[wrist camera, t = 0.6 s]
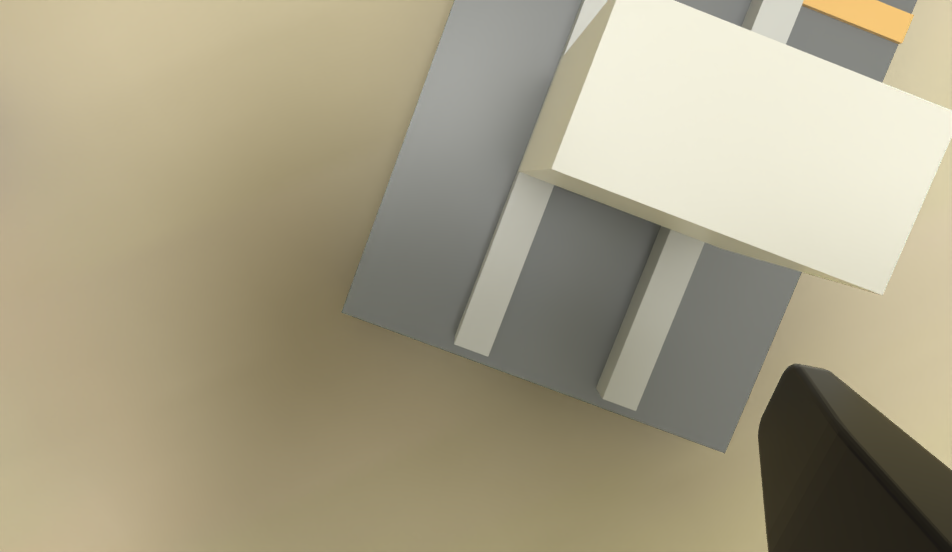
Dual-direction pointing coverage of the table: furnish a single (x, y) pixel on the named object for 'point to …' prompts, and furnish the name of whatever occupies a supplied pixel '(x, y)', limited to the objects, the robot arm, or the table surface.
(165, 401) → the table surface
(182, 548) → the table surface
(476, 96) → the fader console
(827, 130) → the fader handle
